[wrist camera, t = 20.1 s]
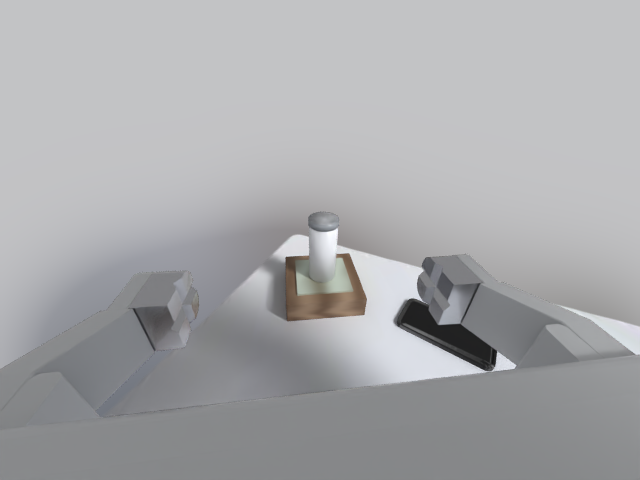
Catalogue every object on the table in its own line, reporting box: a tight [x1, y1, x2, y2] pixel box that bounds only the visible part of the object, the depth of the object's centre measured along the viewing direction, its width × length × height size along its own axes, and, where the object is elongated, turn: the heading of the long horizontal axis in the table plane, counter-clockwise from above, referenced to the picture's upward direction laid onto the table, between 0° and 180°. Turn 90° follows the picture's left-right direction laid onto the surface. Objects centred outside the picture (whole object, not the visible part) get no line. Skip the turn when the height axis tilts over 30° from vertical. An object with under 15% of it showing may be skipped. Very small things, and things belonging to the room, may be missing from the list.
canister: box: [308, 212, 339, 283], centre depth 46 cm, size 5×5×12 cm
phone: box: [397, 299, 497, 371], centre depth 44 cm, size 8×1×15 cm
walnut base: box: [286, 254, 367, 321], centre depth 50 cm, size 14×14×4 cm
